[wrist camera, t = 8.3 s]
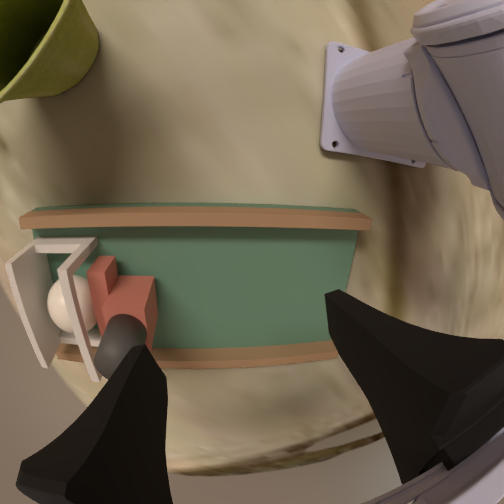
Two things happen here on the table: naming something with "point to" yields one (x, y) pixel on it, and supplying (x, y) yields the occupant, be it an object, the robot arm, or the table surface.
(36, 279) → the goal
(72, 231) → the pitch
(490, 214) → the table surface
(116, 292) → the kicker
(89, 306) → the ball
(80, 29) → the plant pot
